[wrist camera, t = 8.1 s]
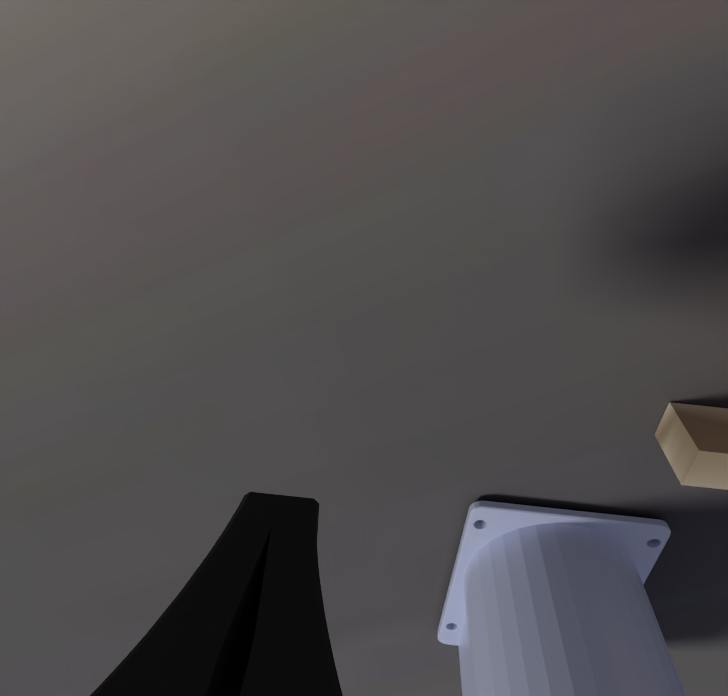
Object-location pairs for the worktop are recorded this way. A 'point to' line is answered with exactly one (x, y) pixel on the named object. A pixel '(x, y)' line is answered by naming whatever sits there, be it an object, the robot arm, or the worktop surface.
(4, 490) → the worktop surface
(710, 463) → the nest
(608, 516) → the robot arm
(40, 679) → the worktop surface
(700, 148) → the worktop surface
